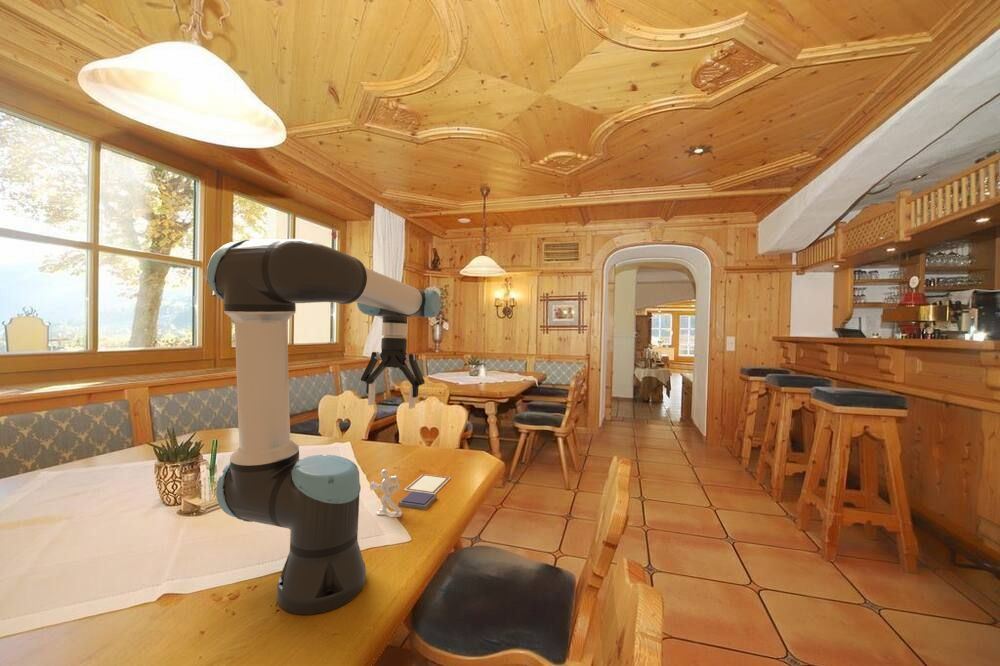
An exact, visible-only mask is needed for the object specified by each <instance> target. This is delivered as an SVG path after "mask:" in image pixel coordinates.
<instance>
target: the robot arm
mask: <svg viewBox="0 0 1000 666" xmlns="http://www.w3.org/2000/svg"><path fill="white" fill-rule="evenodd" d="M206 277H207V278H206V279H207V283H208V286H209V288H210V290H211V291H213V292H214V294H215V296H216V297H217V298H219V299H220V300H222V301H223V313H224V314H225V315H227V316H228V317H229V318H230V319H231V320H232V321H233V322H234V338H235V339H234V342H235V346H234V347H235V367H236V369H235V370H236V371H235V372H236V393H237V395H236V397H237V419H238V423H237V424H238V444H239V446H238V447H237V449H236V450H235V451H234V452H233V453H231V455H230V457H229V462H228V463H227V464H226V465H225V467H224V468H223V470H222V473H223V474H222V475H221V476H219V477H218V479H217V482H216V488H215V496H216V501H217V504H218V506H219V507H220V509H221V511H222V512H224V513H225V514H226V515H228V516H230V517H233V518H236V519H238V520H240V521H241V520H242V521H243V522H248V523H251V522H253V523H259V524H263V525H268V526H274V527H278V528H285V529H289V531H290V535H289V536H290V539H289V552H288V555H287V556H286V560H285V563H284V566H283V568H282V571H281V573H280V577H279V579H278V581H277V590H276V591H277V592H276V601H277V604H278V605H279V606H280V608H282V609H283V610H284V611H286V612H288V613H292V614H295V615H316V614H317V615H318V614H322V613H326V612H330V611H333V610H336V609H339V608H340V607H342V606H345V605H346V604H348V603H349V602H350V601H352V600H354V598H356V597H357V596H358V595H359V594H360V593H361V591H362V590H363V589H364V587H365V584H366V579H367V578H366V575H367V567H366V564H365V560H364V559H363V555H362V551H361V547H360V545H359V541H358V536H359V535H358V534H359V533H358V532H359V512H360V510H359V509H360V493H361V488H362V487H361V483H360V481H361V480H360V469H359V468H358V466H357V464H356V463H355V462H354V461H352V460H351V459H349V458H347V457H344V456H339V455H335V454H327V455H323V454H316V455H311V456H306V457H303V458H301V459H300V447H299V444H297V443H296V442H294V440H292V439H291V419H290V418H291V417H290V416H291V415H290V390H289V389H290V381H289V380H290V379H289V377H290V376H289V349H288V347H289V346H288V344H289V342H288V341H289V340H288V339H289V338H288V321H289V319H290V318H292V317H293V316H294V315H295V314H296V306H297V305H296V304H313V303H335V304H340V305H341V304H342V305H349V304H352V303H356V305H357V308H358V310H359V311H360V312H361V313H362V314H364V315H367V316H369V317H372V316H373V317H382V323H381V325H382V326H381V336H383V337H382V338H381V344H380V346H381V347H380V348H381V352H378V351H372V352H371V356H370V359H369V361H368V364H367V366H366V367H365V369H364V371H363V373H362V375H361V377H360V381H361V382H364V383H365V384H366V388H365V389H366V394H367V406H372V405H375V404H376V382H375V381H376V379H377V378H378V377H379V376H380V375H381V373H382V372H383V371H384V370H385V369H386V368H394V369H397V368H399V369H400V371H401V372H402V373H403V375H404V376H405V377H406V379H407V380H408V382H409V383H410V385H411V386H409V396H408V397H409V399H408V409H414V408H416V398H418V396H419V387H420V386H422V385H425V383H426V381H425V379H424V377H423V373H422V372H421V369H420V367H419V364H418V361H417V355H416V353H409V354H407V344H408V343H407V342H408V341H407V338H406V337H407V336H408V318H425V319H427V318H435V317H437V316H438V315H439V314H440V311H441V304H442V302H441V301H442V300H441V296H440V293H439V292H438V291H436V290H431V289H419V288H417V287H415V286H414V287H413V286H412V285H410V284H406V283H404V282H401V281H399V280H396V279H394V278H392V277H389V276H387V275H384V274H382V273H379V272H377V271H375V270H372V269H369V268H367V267H366V266H365V265H364V263H363V262H362V261H361V260H360V259H358V258H356V257H354V256H351V255H350V254H347V253H344V252H342V251H340V250H337V249H335V248H332V247H330V246H326V245H324V244H320V243H319V242H313V241H311V240H310V241H309V240H307V239H299V238H288V239H287V238H285V239H284V238H283V239H282V238H281V239H245V240H239V241H231V242H228V243H224V245H221V246H220V247H219V248H218V249H217V250H215V252H213V254H212V255H211V257H210V259H209V262H208V264H207V268H206ZM379 359H381V362H379V364H378V366H377V367H376V365H377V363H378V361H379ZM406 360H407V361H408V363H409V365H410V367H411V370H412V371H411V370H410V368H409V367H408V364H407V363H406ZM375 367H376V368H375ZM373 370H374V371H373Z"/></svg>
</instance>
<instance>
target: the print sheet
mask: <svg viewBox="0 0 1000 666" xmlns="http://www.w3.org/2000/svg"><path fill="white" fill-rule="evenodd" d="M451 479H452V478H451V477H449V476H441V475H435V474H428V473H427V474H424V473H423V474H421V475H420V476H419V477H418V478H416V479H414V480H413V482H411V483H410V484H409V485H407V486H406V487H405V488H404V489H403V491H405V492H409V493H410V492H411V491H414V492H421V493H428V494H435V495H437V493H438V492H439V491H440V490H441V489H442V488H443V487H444V486H445V485H446V484H447V483H448V482H449V481H450V480H451Z"/></svg>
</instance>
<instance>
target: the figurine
mask: <svg viewBox="0 0 1000 666" xmlns="http://www.w3.org/2000/svg"><path fill="white" fill-rule="evenodd" d="M380 474H381V477H382V478H383V479H382V481H381V482H380V484H379V483H378V482H376V481H375V480H372V481H371V483H370V484H369V489H370V491H373V490H378V489H379V488H380V491H381V492H384V493H383V495H382V497H381V498H380V501H381V506H382V508H380V509H379V510H377V511H376V515H378V516H387V517H389V518H391V519H396V518H401V517H402V516H403V512H402V509H401V508H399V506H398V505H397V504H396V503H395V502H393V501H392V495H394V494H395V493H396V492H397V490H398V491H401V485H400V483H399V477H398V475H391V476H390V475H389V476H388V474H389V471H388V469H386V468H383V469H382V470H381V471H380ZM392 481H394V483H393V482H392ZM396 489H397V490H396ZM387 505H388V506H389V507H390V508H391V509H392V511H389V510H387Z"/></svg>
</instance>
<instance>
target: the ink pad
mask: <svg viewBox="0 0 1000 666" xmlns="http://www.w3.org/2000/svg"><path fill="white" fill-rule="evenodd" d="M436 500H437V494H428V493H421V492H414V491H411V492H410V491H409V492H408V494H406V495H405V496H404V497H403V498H401V500H400V501H399V502H398V507H403V508H410V509H415V510H417V509H418V510H425V511H426V510H427V509H428V508H429V507H430V506H431V505H432V503H434V502H435V501H436Z"/></svg>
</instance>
